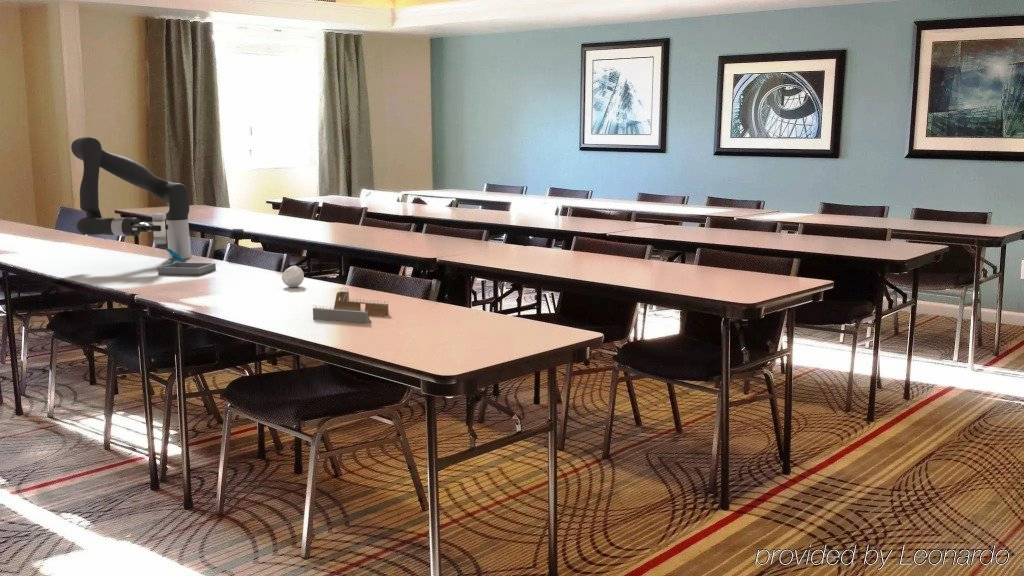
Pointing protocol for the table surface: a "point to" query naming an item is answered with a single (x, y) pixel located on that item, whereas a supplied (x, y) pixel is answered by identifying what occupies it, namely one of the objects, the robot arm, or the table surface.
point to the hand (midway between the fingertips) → (164, 227)
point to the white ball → (293, 276)
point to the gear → (174, 256)
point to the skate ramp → (350, 310)
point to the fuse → (161, 235)
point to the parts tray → (186, 269)
